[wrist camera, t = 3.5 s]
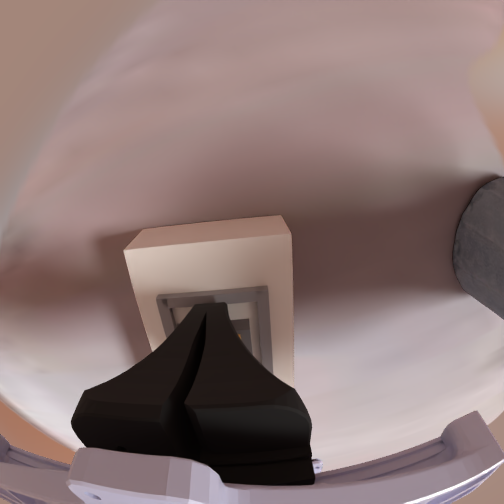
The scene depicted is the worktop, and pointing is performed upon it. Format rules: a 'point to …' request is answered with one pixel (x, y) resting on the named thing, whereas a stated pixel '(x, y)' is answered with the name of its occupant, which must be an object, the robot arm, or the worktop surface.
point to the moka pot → (483, 247)
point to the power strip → (219, 281)
